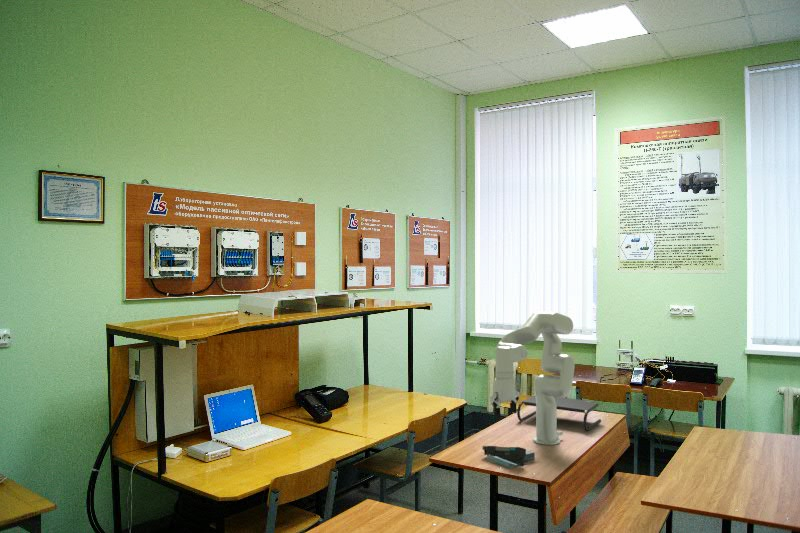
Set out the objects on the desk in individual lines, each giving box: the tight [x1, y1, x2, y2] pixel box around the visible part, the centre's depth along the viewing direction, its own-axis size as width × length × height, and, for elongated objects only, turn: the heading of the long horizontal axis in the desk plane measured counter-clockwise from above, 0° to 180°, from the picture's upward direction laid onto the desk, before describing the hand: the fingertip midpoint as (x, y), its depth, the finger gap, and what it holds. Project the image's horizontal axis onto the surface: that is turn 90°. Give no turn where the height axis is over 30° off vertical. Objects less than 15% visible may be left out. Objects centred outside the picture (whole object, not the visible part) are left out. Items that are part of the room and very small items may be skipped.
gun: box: [482, 445, 527, 467], centre depth 243 cm, size 4×20×10 cm, turn 48°
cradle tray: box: [486, 455, 520, 469], centre depth 243 cm, size 7×13×2 cm, turn 34°
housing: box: [519, 446, 536, 463], centre depth 248 cm, size 5×10×4 cm, turn 34°
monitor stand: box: [516, 395, 602, 432], centre depth 309 cm, size 37×28×11 cm
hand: (505, 414), depth 247 cm, fingers open, 9 cm apart
